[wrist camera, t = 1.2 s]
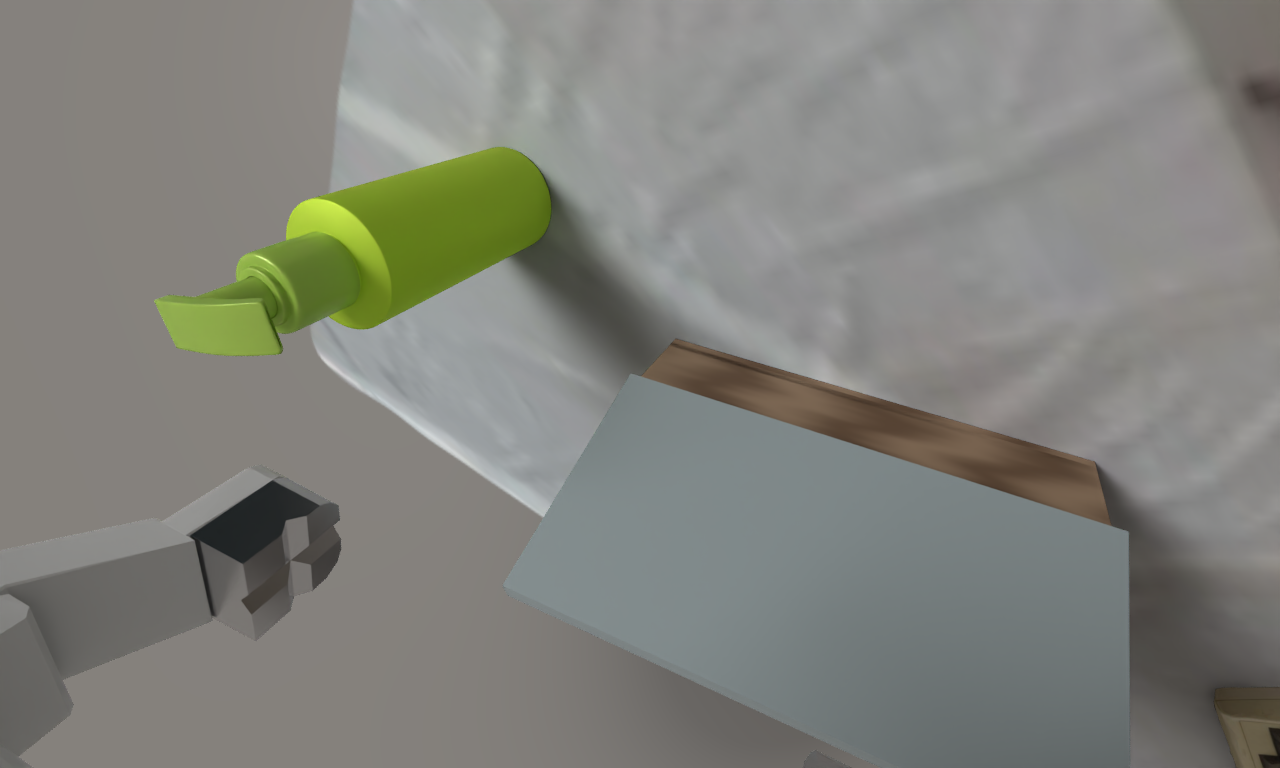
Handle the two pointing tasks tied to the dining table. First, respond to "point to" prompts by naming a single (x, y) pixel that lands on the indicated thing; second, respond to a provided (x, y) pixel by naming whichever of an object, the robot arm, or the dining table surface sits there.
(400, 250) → the soap dispenser
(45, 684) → the robot arm
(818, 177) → the dining table surface
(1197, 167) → the dining table surface
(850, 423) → the wooden box
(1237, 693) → the computer
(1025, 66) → the dining table surface
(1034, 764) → the lid
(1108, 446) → the dining table surface
